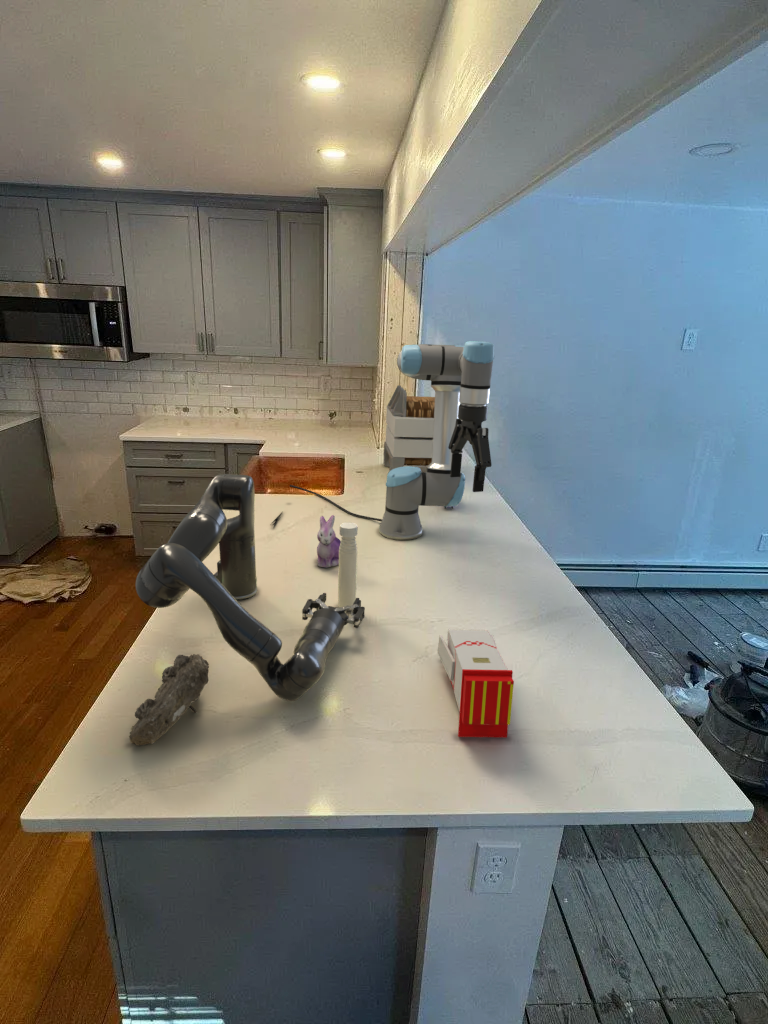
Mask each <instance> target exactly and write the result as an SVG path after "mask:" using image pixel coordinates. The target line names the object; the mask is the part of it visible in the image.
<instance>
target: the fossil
mask: <svg viewBox="0 0 768 1024" xmlns="http://www.w3.org/2000/svg"><path fill="white" fill-rule="evenodd" d="M209 665H210V664H209V662H208V660H207V659H204V658H203V656H202V655H200V653H199V654H198V653H197V654H195V653H193V654H190V655H184V654H178V655H177V656H176V657H175V660H174V661H173V665H171V666H167V667H166V668H165V669H163V671H162V672H161V674H162V675H161V682H162V684H161V685H160V687H158V689H157V691H156V693H155V695H154V699H153V698H147V699H146V700H145V701H144V702H142V703H141V704H139V706H138V707H137V708H136V709H135V712H134V717H135V718H136V719H138V720H137V721H136V722H135V724H134V725H132V726H131V729H130V732H129V736H128V737H129V740H130V743H132V744H134V745H136V746H144V745H150V744H151V745H153V744H154V743H156V742H157V741H158V740H159V739H160V738H161V737H162V736H163V735H165V734H166V733H167V732H168V731H169V730H170V729H171V728H172V727H173V726H174V725H175V724H176V723H177V722H179V720H180V719H181V718H182V715H183V714H185V713H186V712H187V710H188V709H190V710H191V711H192V712H193V713H194V714H197V713H198V712H197V710H196V709H195V708H194V707H193V706H192V705H191V704H192V703H193V702H196V701H197V700H198V699H199V698H200V696H201V693H202V692H203V690H204V688H205V686H206V685H207V684H208V683H209V668H210V666H209Z"/></svg>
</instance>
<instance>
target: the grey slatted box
mask: <svg viewBox="0 0 768 1024" xmlns="http://www.w3.org/2000/svg"><path fill="white" fill-rule="evenodd" d="M407 394H408V393H407V390H406V389H404V388H403V387H402V385H399V384H398V385H397V386H396V388H395V390H394V392H393V394H392V395H391V398H390V400H389V402H388V404H387V405H386V413H385V414H386V415H385V423H386V428H385V438H384V442H383V466H384V467H388V468H389V471H391V470H392V469H395V468H398V467H404V466H413V467H427V466H428V465H429V464H431V462H432V446H433V426H434V406H435V396H415V395H414V396H413V395H412V396H411V395H407ZM459 454H462V453H459Z"/></svg>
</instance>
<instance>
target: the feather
mask: <svg viewBox="0 0 768 1024" xmlns="http://www.w3.org/2000/svg"><path fill="white" fill-rule="evenodd" d="M282 514H283V512H280V514H279V515H278V516H277V517H275V519H274V520H273V521H272V522H271V524H270V526H272V525H273V529H274V528H275V526H276V524H277V523H278V521H279V520H280V518H281V516H282Z"/></svg>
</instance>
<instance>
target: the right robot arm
mask: <svg viewBox="0 0 768 1024" xmlns="http://www.w3.org/2000/svg"><path fill="white" fill-rule="evenodd" d="M494 359H495V345H494V343H492V342H491V341H489V342H488V341H479V340H478V341H477V340H469V341H466V342H464V345H456V344H427V343H419V344H405V345H403V346H402V347H401V350H400V352H399V353H398V354H397V359H396V365H397V368H398V370H399V372H400V373H401V374H403V375H404V376H406V377H408V378H412V379H414V380H418V381H419V380H420V381H430V387H431V388H432V390H434V397H435V406H434V426H433V446H432V462H431V464H429V465H428V466H426V471H422V469H421V468H420V467H419V466H407V465H404V467H398V468H395V469H392V470H391V471H390V470H388V473H387V475H386V482H385V487H386V488H385V489H386V490H385V504H384V505H385V507H384V508H385V509H384V513H383V515H382V518H376V517H371V516H367V515H362V514H357V513H354V512H351V511H349V510H347V509H346V508H344V507H342V506H340V505H339V504H338V503H336V502H334V501H332V500H331V499H329V498H327V497H325V496H324V495H321V494H319V493H317V492H315V491H312V490H309V489H306V488H304V487H300V486H298V485H297V486H296V485H292V484H290V485H289V487H290V488H293V489H296V490H300V491H304V492H307V493H310V494H312V495H315V496H317V497H320V498H322V499H324V500H325V501H327V502H329V503H330V504H332V505H334V506H336V507H337V508H338V509H340V510H342V511H344V512H345V513H346V514H348V515H351V516H354V517H358V518H360V519H367V520H372V521H377V522H379V526H378V533H379V534H380V535H381V536H382V537H385V538H387V539H389V540H395V541H410V540H415V539H418V538H420V537H421V536H422V535H423V525H422V524H421V518H420V515H419V507H443V508H444V507H446V508H448V506H449V507H451V506H453V507H457V506H459V504H460V503H461V501H462V499H463V496H464V493H465V492H464V491H465V486H466V476H465V474H464V473H463V472H462V461H463V449H464V448H465V445H466V444H467V442H468V443H469V444H470V445H471V447H472V452H473V456H474V460H475V466H474V472H473V481H472V482H473V483H472V493H481V492H482V493H483V492H484V489H485V488H484V487H485V480H486V479H485V478H486V469H487V468H491V467H492V465H493V464H492V457H491V456H492V455H491V448H490V441H489V428H488V427H483V422H486V421H487V420H488V412H489V407H488V406H487V405H488V404H489V401H490V396H491V391H490V390H491V384H492V375H493V365H494ZM459 453H461V454H459Z"/></svg>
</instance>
